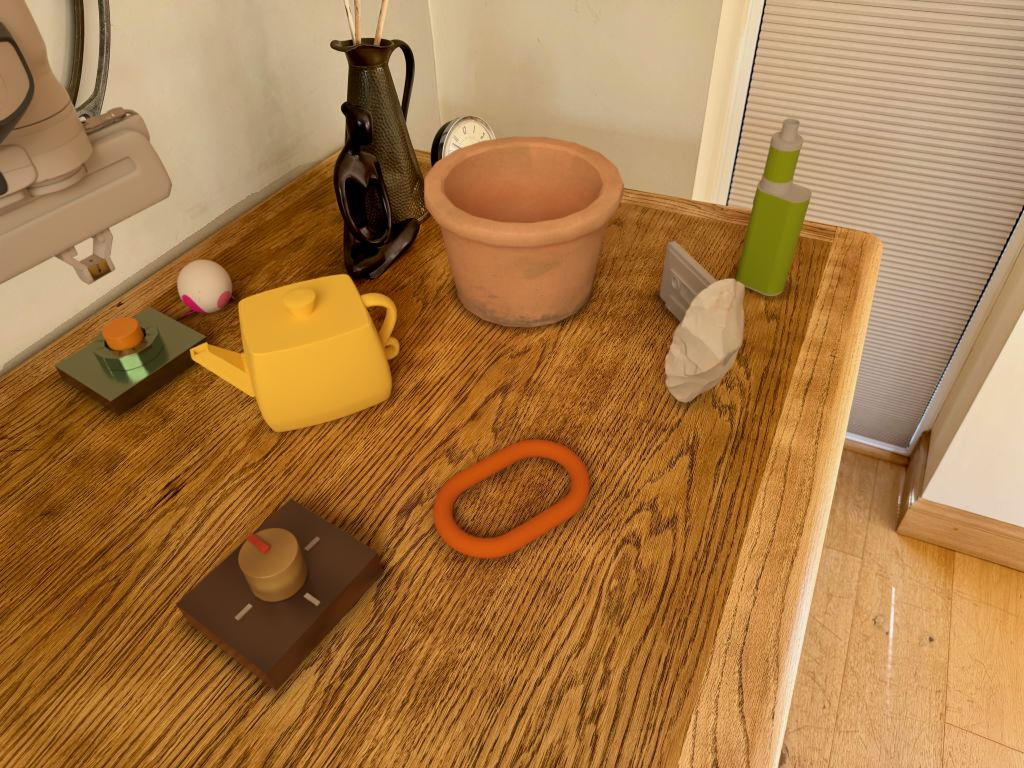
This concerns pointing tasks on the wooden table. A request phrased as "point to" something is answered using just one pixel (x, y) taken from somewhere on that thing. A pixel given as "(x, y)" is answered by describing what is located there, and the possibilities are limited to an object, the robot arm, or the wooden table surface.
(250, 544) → the dimmer knob
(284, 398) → the teapot
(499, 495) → the wooden table surface
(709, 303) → the stone
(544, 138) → the pottery
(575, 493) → the orange oval ring
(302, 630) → the dimmer panel
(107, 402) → the lamp switch
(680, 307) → the cassette
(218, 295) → the stress ball
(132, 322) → the button
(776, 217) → the vape
